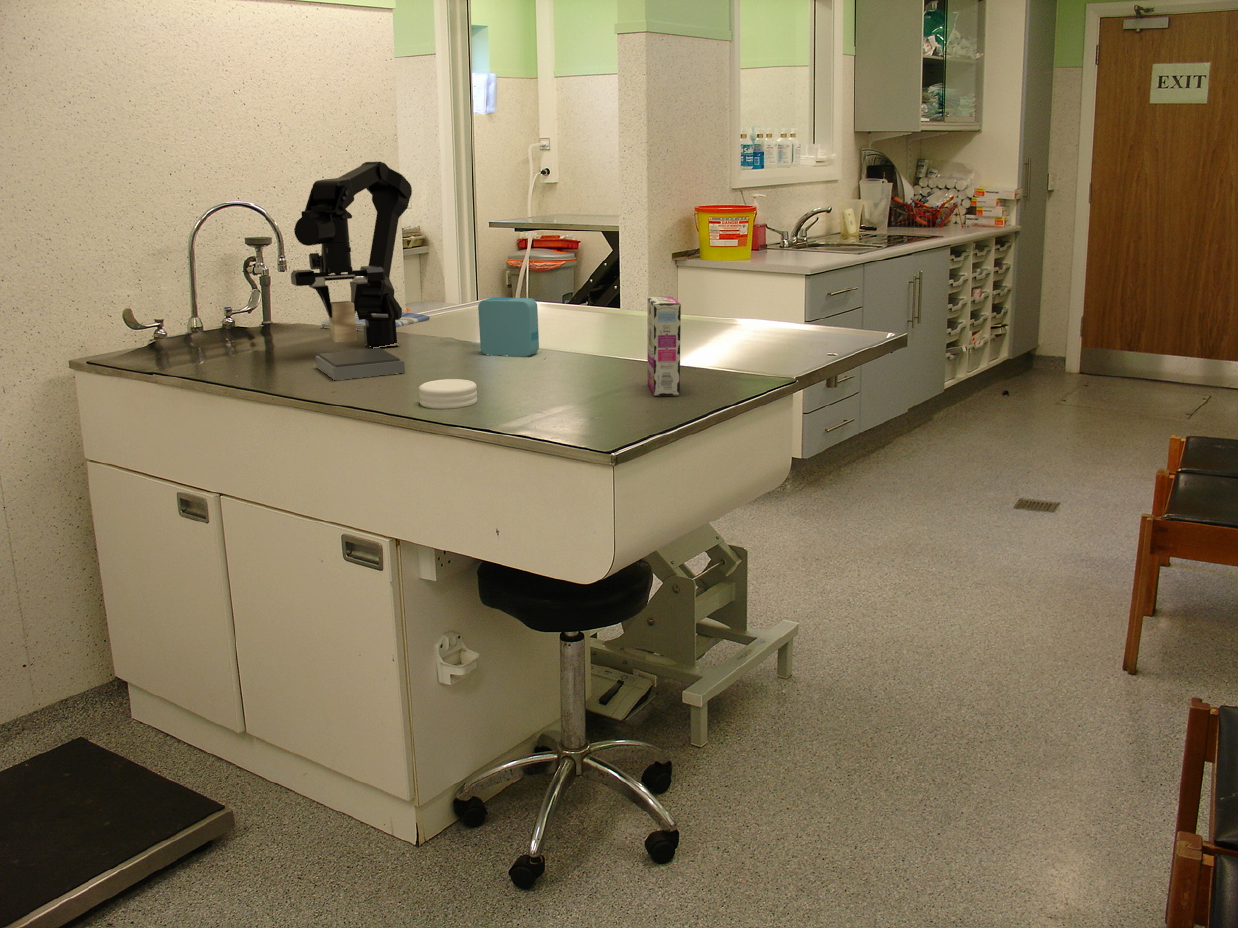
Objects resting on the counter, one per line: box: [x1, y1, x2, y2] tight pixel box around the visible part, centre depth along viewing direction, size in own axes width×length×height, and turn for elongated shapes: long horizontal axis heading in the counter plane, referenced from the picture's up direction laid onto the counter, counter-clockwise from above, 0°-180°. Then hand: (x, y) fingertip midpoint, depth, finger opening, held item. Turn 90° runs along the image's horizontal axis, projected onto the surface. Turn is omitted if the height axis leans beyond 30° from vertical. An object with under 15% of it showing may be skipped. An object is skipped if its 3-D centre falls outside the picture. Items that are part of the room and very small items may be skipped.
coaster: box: [418, 378, 478, 410], centre depth 189 cm, size 10×10×4 cm
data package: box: [477, 296, 540, 358], centre depth 233 cm, size 12×4×12 cm, turn 71°
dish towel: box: [320, 311, 431, 329], centre depth 281 cm, size 17×24×3 cm
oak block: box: [328, 300, 358, 343], centre depth 231 cm, size 4×4×8 cm
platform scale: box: [315, 348, 406, 381], centre depth 219 cm, size 14×16×3 cm
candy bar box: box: [646, 296, 682, 397], centre depth 194 cm, size 11×5×16 cm, turn 5°
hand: (341, 316), depth 231 cm, fingers closed on oak block, 4 cm apart
